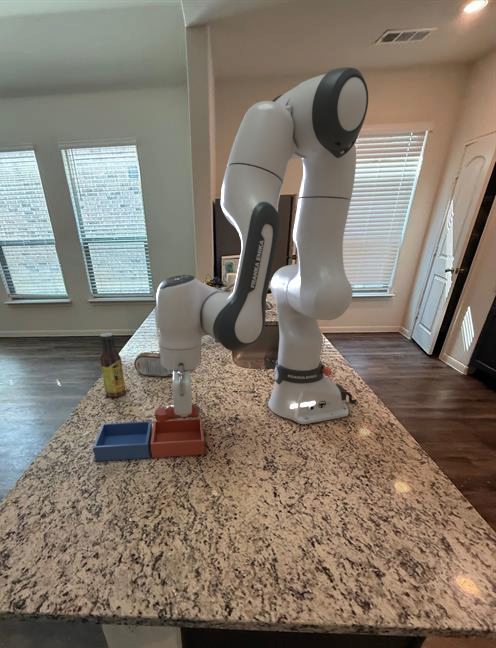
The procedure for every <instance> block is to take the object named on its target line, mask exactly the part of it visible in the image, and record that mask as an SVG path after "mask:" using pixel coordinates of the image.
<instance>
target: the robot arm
mask: <svg viewBox="0 0 496 648" xmlns="http://www.w3.org/2000/svg"><path fill="white" fill-rule="evenodd" d="M368 89H369V88H368V85H367V83H366V80H365V78H364V75H363V74H362V73H361V71H360V70H359V69H357V68H355V67H348V66H347V67H339V68H338V67H337V68H334V69H333V68H332V69H331V70H329V71H328V72H326V73H324V74H320V75H318V76H314V77H311V78H308V79H306V80H303V81H302V82H300V83H299V84H298V85H297V86H295V87H293V88H291V89H290V90H288V91H287V92H285V93H284V94H280V95H278V96H276V97H275V98H273V100H262V101H259V102H255V103H254V104H252V105H251V106H250V107H249V108H248V110H247V111H246V112H245V114H244V116H243V118H242V120H241V123H240V125H239V128H238V130H237V132H236V135H235V138H234V141H233V143H232V146H231V149H230V153H229V156H228V160H227V164H226V168H225V172H224V176H223V180H222V185H221V191H220V192H221V193H220V206H221V210H222V213H223V215H224V217H225V218H226V220H227V221H228V222H229V224H231V225H232V227H234V229H235V230H236V231H237V233H238V235H239V238H240V242H241V245H240V246H241V251H240V255H239V261H238V266H237V271H236V277H235V283H234V287H233V291H232V293H231V292H228V291H226V290H223V289H219V288H216V287H214V286H210V285H208V284H207V283H204V282H202V281H201V280H199V279H198V278H196V276H194V275H191V274H181V275H180V274H179V275H175V276H171V277H168V278H166V279H164V280H163V281H162V282H160V284H159V285H158V287H157V290H156V291H157V292H156V321H157V326H158V329H159V332H160V333H159V334H160V336H159V340H158V341H159V342H158V346H159V353H160V357H161V365H162V366H163V367H164V368H166V369H167V371H168V372H169V373H170V374H172V382H171V383H172V403H173V404H172V405H174V413H175V414H176V415H180V416H181V417H185V418H187V417H186V416H188V415H189V414H191V413H192V404H193V401H192V398H193V397H192V376H191V374H194V373H195V372H196V370H197V368H198V367H199V366H201V365H202V361H203V359H202V358H203V357H202V338H203V337H205V336H209V337H211V338H213V339H215V340H216V342H218V343H219V344H220V345H221V346H222V347H224V348H225V349H226V350H228V351H230V352H243V351H246V350H247V349H250V348H251V347H253V346H254V345H255V344H256V343H257V342H258V341H259V340H260V338H261V337H262V336H263V334H264V330H265V327H266V316H267V315H266V312H267V310H266V308H267V298H268V292H269V287H270V291H271V294H272V297H273V299H274V302H275V307H276V308H275V309H276V315H277V323H278V330H279V331H278V333H279V338H278V339H279V340H278V352H277V353H278V354H277V359H276V360H275V367H274V374H273V375H274V384H273V387H272V392H271V395H270V398H269V400H268V401H267V406H268V408H269V410H270V411H271V412H272V413H274V414H275V415H277V416H279V417H281V418H285V419H288V420H291V421H293V422H295V423H297V424H300V425H308V424H314V423H319V422H324V421H325V422H326V421H329V420H335V419H339V418H345V417H346V418H347V417H348V416H349V407H348V405H347V404H346V400H347V396H348V401H349V403H351V404H354V403H357V401H358V400H357V399H353V394H352V393H350V392H349V391H347V390H346V389H345V388H344V387H343V386H342V385H341V384H336V383H335V382H333V380H331V379H330V378H329V377H330V376H332V373H333V370H332V369H330V367H328V366H326V365H325V364H324V363H322V362H321V354H322V348H323V343H324V337H323V332H322V331H321V328H320V326H319V321H333V320H336V319H338V318H340V317H342V316H343V314H345V312H346V311H347V310H348V309H349V308H350V306H351V303H352V299H353V286H352V283H350V281H349V279H348V277H347V273H346V271H345V264H344V235H345V231H346V226H347V220H348V215H349V210H350V205H351V200H352V195H353V191H354V185H355V178H356V177H355V176H356V168H357V167H356V166H357V147H356V145H355V143H356V141H357V139H358V138H359V135H360V132H361V130H362V128H363V125H364V122H365V120H366V117H367V111H368V106H369V90H368ZM300 158H301V163H302V168H303V169H302V170H303V173H302V178H301V181H300V187H299V191H298V192H299V193H298V199H297V203H296V204H297V205H296V211H295V217H294V223H293V229H292V241H293V243H294V244H295V247H296V252H297V261H298V262H297V263H295V264H294V263H293V264H289V265H284V266H282V267H280V268H279V269H277V271H275V272H274V274H273V276H272V272H273V267H274V263H275V257H276V252H277V247H278V241H279V236H280V226H281V225H280V224H281V221H280V220H281V219H280V215H279V211H278V210H279V203H280V196H281V193H282V189H283V185H284V181H285V178H286V174H287V171H288V165H289V163H290V160H291V159H300Z"/></svg>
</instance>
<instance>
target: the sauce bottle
mask: <svg viewBox="0 0 496 648" xmlns="http://www.w3.org/2000/svg"><path fill="white" fill-rule="evenodd" d="M99 340H100V343H101V349H102V350H101V352H100V356H99V361H100V368H101V373H102V378H103V385H104V390H105V394H106V396H107V397H109V398H118V397H121V396H123V395H124V394H125V393H126V383H125V376H124V369H123V363H122V357H121V356H120V353H119V352H118V350H117V348H116V344H115V335H114V333H113V332H103V333H101V334H100V335H99Z"/></svg>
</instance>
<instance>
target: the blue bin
mask: <svg viewBox="0 0 496 648" xmlns="http://www.w3.org/2000/svg"><path fill="white" fill-rule="evenodd" d="M152 430H153V424H152V420H144V421H143V420H142V421H125V422H124V421H123V422H110V423H109V422H108V423H107V422H106V423H102V424H101V426H100V429H99V430H98V433H97V435H96V439H95V441H94V444H93V447H92V450H93V454H94V458H95V462H106V461H107V462H109V461H122V460H138V459H149V458H151V437H152Z"/></svg>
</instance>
